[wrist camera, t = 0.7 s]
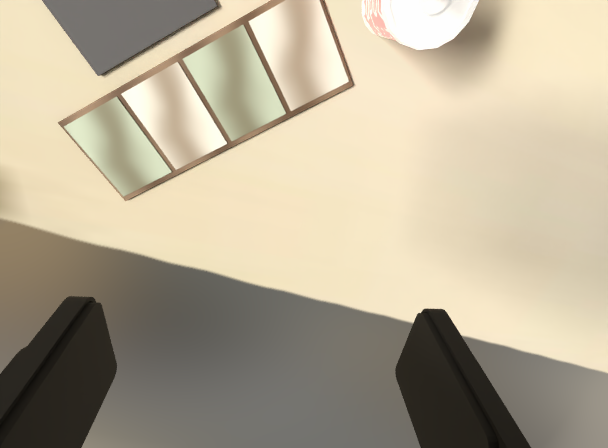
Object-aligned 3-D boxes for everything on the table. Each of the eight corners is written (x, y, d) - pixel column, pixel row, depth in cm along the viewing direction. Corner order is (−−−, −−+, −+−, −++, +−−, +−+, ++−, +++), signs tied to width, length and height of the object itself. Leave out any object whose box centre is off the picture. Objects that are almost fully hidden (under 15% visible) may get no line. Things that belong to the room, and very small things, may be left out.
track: (313, -24, 26) (313, -25, 26) (352, 84, 30) (353, 85, 30) (59, 121, 30) (57, 123, 30) (126, 199, 34) (124, 201, 34)
